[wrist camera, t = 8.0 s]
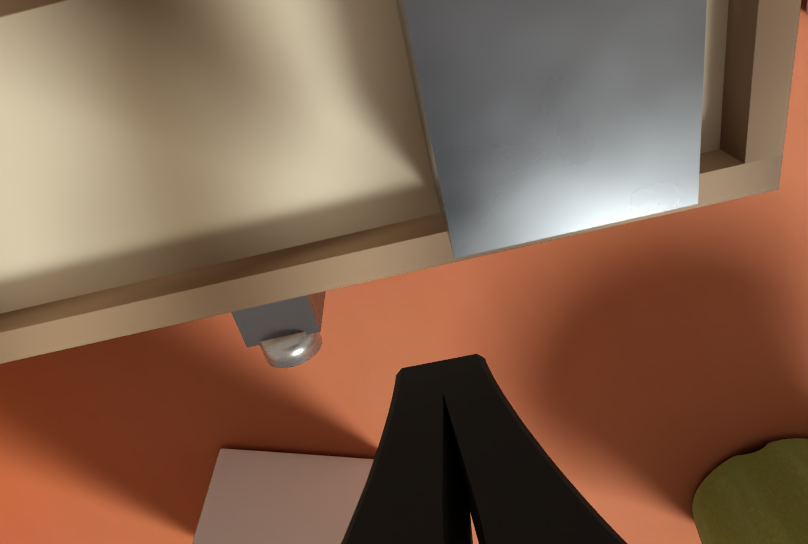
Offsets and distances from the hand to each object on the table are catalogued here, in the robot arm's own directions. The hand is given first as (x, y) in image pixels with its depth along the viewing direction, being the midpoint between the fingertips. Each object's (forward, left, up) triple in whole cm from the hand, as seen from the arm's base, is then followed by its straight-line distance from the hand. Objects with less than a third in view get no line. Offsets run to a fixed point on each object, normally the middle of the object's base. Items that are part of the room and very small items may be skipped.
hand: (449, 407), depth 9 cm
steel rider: (-3, -4, -5) cm, 7 cm away
